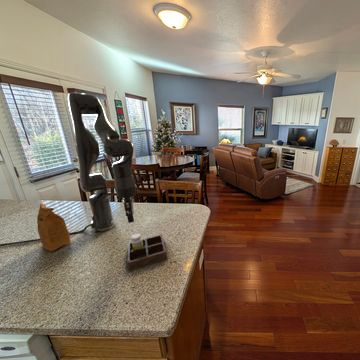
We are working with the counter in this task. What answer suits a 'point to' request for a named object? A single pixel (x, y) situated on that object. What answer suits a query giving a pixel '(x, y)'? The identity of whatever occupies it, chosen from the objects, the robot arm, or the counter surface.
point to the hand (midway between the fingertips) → (131, 217)
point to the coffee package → (51, 229)
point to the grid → (147, 252)
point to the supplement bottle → (137, 242)
